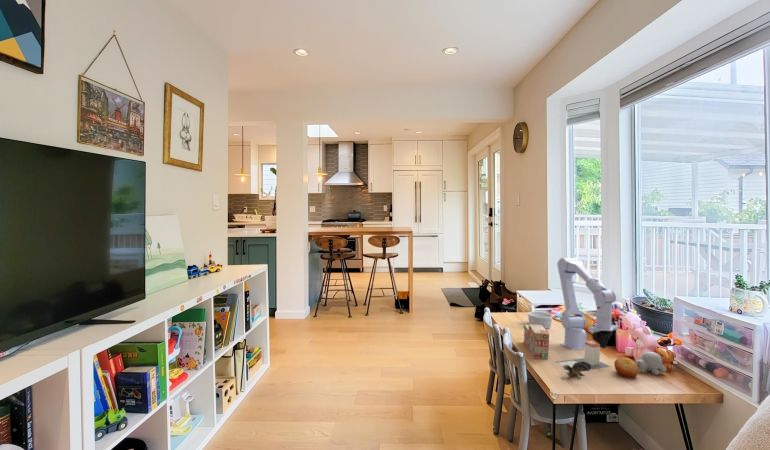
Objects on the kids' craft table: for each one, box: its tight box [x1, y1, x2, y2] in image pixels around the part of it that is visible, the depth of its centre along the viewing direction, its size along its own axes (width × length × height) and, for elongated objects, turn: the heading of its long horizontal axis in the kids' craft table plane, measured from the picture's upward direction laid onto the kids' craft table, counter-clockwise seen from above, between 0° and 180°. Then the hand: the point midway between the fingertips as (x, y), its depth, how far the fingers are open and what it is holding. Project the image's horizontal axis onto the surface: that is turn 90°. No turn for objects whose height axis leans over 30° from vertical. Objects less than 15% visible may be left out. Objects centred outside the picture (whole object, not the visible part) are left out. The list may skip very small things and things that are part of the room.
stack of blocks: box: [523, 323, 550, 360], centre depth 168 cm, size 21×6×12 cm, turn 170°
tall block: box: [584, 340, 601, 365], centre depth 154 cm, size 4×4×9 cm
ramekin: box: [527, 311, 553, 330], centre depth 206 cm, size 13×13×7 cm
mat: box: [556, 357, 612, 371], centre depth 152 cm, size 20×10×1 cm, turn 107°
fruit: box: [614, 357, 638, 378], centre depth 143 cm, size 8×8×8 cm
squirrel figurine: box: [562, 362, 592, 380], centre depth 141 cm, size 8×7×9 cm
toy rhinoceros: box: [633, 351, 667, 376], centre depth 146 cm, size 7×12×8 cm, turn 87°
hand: (602, 347), depth 155 cm, fingers closed
